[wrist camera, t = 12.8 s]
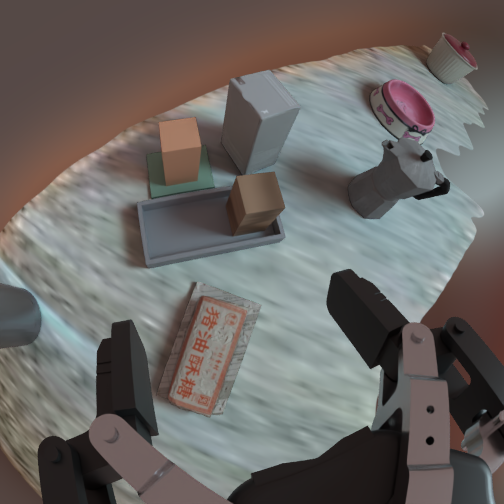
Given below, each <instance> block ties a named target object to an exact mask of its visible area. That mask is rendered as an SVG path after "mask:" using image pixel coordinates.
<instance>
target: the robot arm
mask: <svg viewBox="0 0 504 504" xmlns="http://www.w3.org/2000/svg"><path fill="white" fill-rule="evenodd" d="M327 308H328V311H329V313H330V315H331V316H332V317H333V319H334V320H335V321H336V323H337V324H338V325H339V327H340V328H341V329H342V331H343V332H344V333H345V335H346V336H347V338H348V339H349V340H350V342H351V343H352V344H353V346H354V347H355V348H356V350H357V351H358V353H359V354H360V355H361V357H362V358H363V360H364V361H365V362H366V364H367V365H368V366H369V368H370V369H372V368H374V367H376V366H378V365H380V366H381V367H382V369H381V372H380V386H379V399H378V409H377V413H376V416H375V418H374V421H373V424H372V428H371V430H370V429H369V427H368V426H366V427H364V428H362V429H360V430H359V431H357V432H355V433H353V434H351V435H349V436H347V437H345V438H343V439H341V440H340V441H339V442H338V443H336V444H335V445H334V446H333V447H331V448H330V449H329V450H328V451H326V452H325V453H324V454H322V455H321V456H320V457H318V458H316V459H310V460H304V461H297V462H290V463H282V464H279V465H276V466H273V467H270V468H267V469H264V470H261V471H257V472H254V473H251V479H249V480H247V481H245V482H244V483H243V484H241V485H240V486H239V487H238V488H236V489H235V490H234V491H233V492H232V494H231V495H230V496H229V497H228V499H227V500H226V499H224V498H223V497H221V496H220V495H218V494H216V493H215V492H213V491H212V490H210V489H209V488H207V487H206V486H204V485H203V484H201V483H200V482H198V481H197V480H196V479H194V478H193V477H191V476H190V475H189V474H187V473H186V472H185V471H183V470H182V469H181V468H179V467H178V466H177V465H175V464H174V463H173V462H171V461H170V460H168V459H167V458H166V457H165V456H163V455H162V454H161V453H160V452H159V451H157V450H156V449H155V448H154V447H153V445H152V440H151V436H157V435H159V433H158V428H157V423H156V417H155V412H154V406H153V399H152V393H151V386H150V378H149V371H148V362H147V356H146V352H145V349H144V346H143V343H142V341H141V339H140V337H139V335H138V332H137V330H136V328H135V325H134V323H133V321H132V320H126V321H120V322H115V323H112V329H111V338H107V339H103V340H102V342H101V344H100V346H99V348H98V350H97V370H96V373H97V376H96V398H97V415H96V419H95V420H94V421H93V422H92V424H91V426H90V429H89V430H88V431H87V432H85V433H83V434H81V435H79V436H76V437H74V438H71V439H69V440H67V441H65V440H63V439H62V438H60V437H57V436H50V437H47V438H45V439H44V440H43V441H42V442H41V444H40V445H39V448H38V466H39V476H40V485H41V492H42V498H43V504H116V500H115V496H114V492H113V488H112V484H111V483H113V482H115V481H118V480H120V479H122V478H124V479H125V480H126V481H127V482H128V483H129V484H130V485H131V486H132V487H133V488H134V489H135V490H136V491H137V492H138V495H139V497H140V498H141V499H142V500H143V501H144V502H145V503H146V504H496V503H495V499H494V494H493V484H492V483H493V482H492V474H493V473H494V472H495V471H496V470H497V469H498V468H499V467H500V465H501V464H502V463H503V462H504V366H503V365H502V364H501V362H500V361H499V360H498V359H497V357H496V356H495V355H494V354H493V352H492V351H491V350H490V349H489V347H488V346H487V345H486V344H485V343H484V341H483V340H482V339H481V338H480V337H479V336H478V334H477V333H476V332H475V331H474V330H473V329H472V327H471V326H470V325H469V324H468V323H467V322H466V321H465V320H463V319H461V318H458V317H451V318H449V319H448V320H447V322H446V324H445V325H444V327H441V328H435V329H429V328H427V327H426V326H425V325H423V324H420V323H415V322H414V323H410V322H409V321H408V320H407V319H406V318H405V317H404V316H403V315H402V314H401V313H400V312H399V311H398V310H397V308H396V307H395V306H394V305H393V304H392V303H391V302H390V301H389V300H387V299H386V297H385V296H384V295H383V294H382V293H380V290H379V289H378V288H377V287H376V286H375V285H374V284H373V283H371V282H369V281H368V280H366V279H364V278H359V277H358V276H357V275H356V274H355V272H354V271H352V270H351V269H346V270H343V271H339V272H336V273H333V274H332V276H331V280H330V285H329V290H328V295H327ZM40 327H41V313H40V309H39V305H38V303H37V301H36V299H35V298H34V296H33V295H32V294H31V293H30V292H29V291H27V290H25V289H23V288H18V287H14V286H10V285H6V284H2V283H0V349H1V348H9V347H17V346H24V345H28V344H31V343H32V342H33V341H34V340H35V339H36V337H37V336H38V333H39V331H40ZM456 359H458V361H459V362H460V363H461V364H462V366H463V367H464V368H465V370H466V371H467V372H468V374H469V375H470V378H471V383H470V385H468V384H467V383H466V381H465V380H464V378H463V377H462V376H461V374H460V373H459V372H458V370H457V369H456V368H455V366H454V365H453V362H454V361H455V360H456ZM449 412H450V413H451V415H452V416H453V418H454V420H455V421H456V423H457V424H458V426H459V428H460V429H461V431H462V432H463V434H464V436H465V438H464V440H463V441H462V443H461V447H462V449H463V450H464V451H468V453H465V452H461V451H457V450H454V449H450V420H449V419H450V418H449Z"/></svg>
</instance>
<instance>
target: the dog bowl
mask: <svg viewBox="0 0 504 504" xmlns="http://www.w3.org/2000/svg"><path fill="white" fill-rule="evenodd" d="M369 99H370V105H371V108H372V110H373V112H374V114H375V116H376V118H377V119H378V121H379V122H380V123H381V125H382V126H383V127H384V128H385V129H386V130H387V131H388V132H389V133H390V134H391V135H393V136H394V137H395V138H397V139H398V140H399V139H400V138H401V137H404V138H408V139H411V140H415V141H417V142H418V143H419V144H420V145H421V144H423V142H424V140H425V139H426V137H427V136H428V134H429V133H430V132H431V130H432V128H433V126H434V123H435V117H434V113H433V111H432V109H431V107H430V105H429V104H428V102H427V101H426V100H425V98H424V97H423V96H422V95H421V94H420V93H419V92H418V91H417V90H416V89H414V88H413V87H412V86H410V85H409V84H407V83H405V82H403V81H400V80H390V81H388V82H386V83H384V84H383V85H382V86H380V87H379V88H377V89H375V90H373V91H372V92H371V94H370V98H369Z"/></svg>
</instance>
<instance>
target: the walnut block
mask: <svg viewBox="0 0 504 504" xmlns="http://www.w3.org/2000/svg"><path fill="white" fill-rule="evenodd" d="M284 209H285V205H284V202H283V198H282V195H281V191H280V188H279V185H278V182H277V178H276V175H275V172H267V173H258V174H250V175H242V176H236V179H235V182H234V184H233V187H232V190H231V192H230V195H229V198H228V201H227V203H226V210H227V214H228V218H229V223H230V227H231V231H232V235H233V237H234V236H240V235H245V234H250V233H256V232H261V231H265V230H266V228H267V227H268V226H269V225H270V224H271V223H272V222H273V221H274V220H275V219H276V217H277V216H278V215H279V214H280V213H281V212H282V211H283V210H284Z"/></svg>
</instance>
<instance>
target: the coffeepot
mask: <svg viewBox="0 0 504 504" xmlns="http://www.w3.org/2000/svg"><path fill="white" fill-rule="evenodd" d="M382 146H383V147H384V154H383V160H382V161H381V163H380V164H379V166H378V167H374V168H372V169H370V170H368V171H366V172H363V173H361V174H359V175H357V176H356V177H355V178H354V180H353V181H352V182H351V184H350V185H349V186H348V192H349V198H350V201H351V204H352V206H353V207H354V208H355V210H356V211H357V212H358V213H359V214H360V215H362V216H363V217H364V218H369V219H380V218H381V217H382V216H383V215H384V214H385V213H386V212H388V211H389V210H390V209H391V208H392V207H393V206H394V205H395V204H396V203H397V202H398V200H399V199H406V198H409V197H412V196H413V197H414V198H415V199H417V200H421V199H426V198H430V197H434V196H439V195H444V194H447V193H448V192H449V189H450V182H449V180H448V179H446V178H444V177H443V175H442V174H441V173H440V172H438V171H436V170H435V167H434V164H433V161H432V158H433V157H432V154H431V153H430V152H429V151H428V150H425V149H424V148H423V147H422V146H421V145H420V144H419V143H418V142H417V141H415V140H411V139H408V138H404V137H401V138H400V139H399V140H398V142H394V141H390V140H389V141H388V140H385V141H383V142H382ZM435 184H437V185H439V186H440V187H437V188H435V189H433V188H434V185H435Z"/></svg>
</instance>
